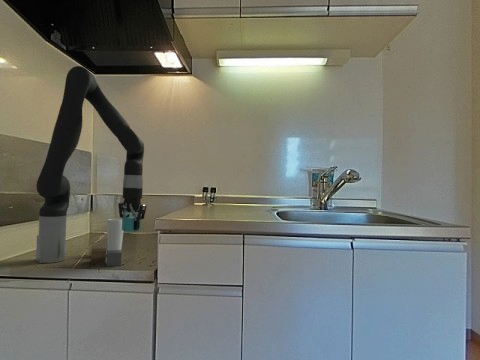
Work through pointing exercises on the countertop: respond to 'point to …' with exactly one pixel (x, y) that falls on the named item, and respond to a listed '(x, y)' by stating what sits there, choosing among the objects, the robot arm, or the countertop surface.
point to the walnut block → (98, 256)
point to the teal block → (129, 224)
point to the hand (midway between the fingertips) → (131, 229)
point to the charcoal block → (113, 258)
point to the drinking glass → (114, 234)
